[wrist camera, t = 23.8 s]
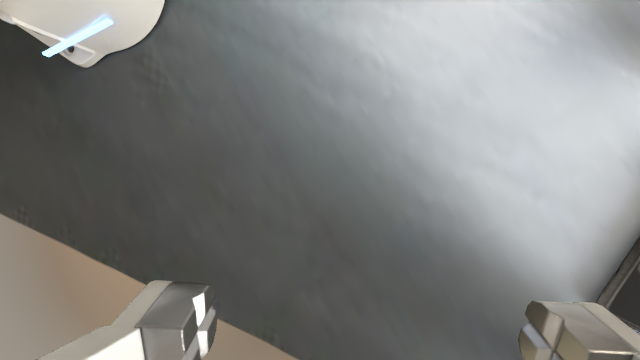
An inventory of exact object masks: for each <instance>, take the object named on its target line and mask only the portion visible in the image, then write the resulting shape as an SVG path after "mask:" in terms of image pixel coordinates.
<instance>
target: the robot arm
mask: <svg viewBox="0 0 640 360" xmlns="http://www.w3.org/2000/svg"><path fill="white" fill-rule="evenodd" d="M164 1H165V0H0V19H2V20H4V21H6V22H8V23H11V24H16V25H18V26H19V27H21V28H22V29H24V30H25V31H26V32H28V33H29V34H31V35H32V36H34V37H35V38H37V39H38V40H40V41H41V42H43V43H44V44H46V45H47V46H49V47H50V48H49V49H47V50H46V51H44V52H42V54H43V55H44V56H47V57H50V56H52V55H54V54H56V53H59V54H61V55H62V56H64V57H65V58H67V59H68V60H70V61H71V62H73V63H75V64H77V65H79V66H81V67H85V68H86V67H90V66H92V65H94V64H95V63H97V62H98V61H99V60H100V59H101V58H102V57H104V56H105V55H106V54H109V53H112V52H116V51H120V50H123V49H126V48H129V47H131V46H133V45H135V44H136V43H138V42H139V41H141V40H142V39H143V38H144V37H145V36H146V35H147V34H148V33H149V32H150V31H151V30H152V28H153V27H154V26H155V24H156V22H157V21H158V19H159V17H160V14H161V12H162V9H163V5H164ZM73 48H74V52H73ZM214 299H215V290H214V286H213V285H212V284H204V283H191V282H177V281H174V282H172V281H160V280H154V281H152V282H149V283H148V284H147V285H146V287H145V288H144V289H143V290H142V291H141V292H140V293H139V294H138V295H137V296H136V297H135V299H134V300H133V301H132V302H131V303H130V304H129V305H128V306H127V307H126V308H125V309H124V311H123V312H122V313H121V314H120V315H119V316H118V317H117V318H116V319H115V320H114V321H113V322H112V324H111V325H110V326H109V327H107V326H102V327H100V328H98V329H96V330H94V331H92V332H90V333H88V334H86V335H84V336H82V337H80V338H78V339H76V340H74V341H72V342H70V343H68V344H66V345H64V346H62V347H60V348H58V349H56V350H54V351H52V352H50V353H48V354H46V355H44V356H42V357H40V358H38V359H36V360H201V358H202V357H203V356H204V355H206V354H207V353H208V352H209V350H210V348H211V346H212V343H213V340H214V336H215V332H216V325H217V314H216V311H215V310H214V309H213V308H212V307H211V305H212V303H213V301H214ZM525 315H526V317H527V318H528V320H529V322H528V323H527V324H525V325H524V326H523V327H522V328H521V330H520V334H519V338H518V341H519V347H520V352H521V354H522V357H523V359H524V360H640V335H639V334H637V333H636V332H635V331H634V330H632V329H631V328H630V327H628V326H627V325H626V324H625V323H623V322H622V321H621V320H620V319H618V318H617V317H616V316H615V315H613V314H612V313H611V312H610V311H608V310H607V309H606V308H605V307H603V306H601V305H599V304H596V303H586V302H573V303H564V302H543V301H532V302H531V303H530V304H529V305H528V307H527V310H526V313H525Z"/></svg>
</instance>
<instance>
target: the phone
mask: <svg viewBox="0 0 640 360" xmlns="http://www.w3.org/2000/svg"><path fill="white" fill-rule="evenodd" d="M597 304H599V305H601V306H603V307H605V308H606V309H607V310H608V311H610V312H611V313H612V314H613V315H615V316H616V317H617V318H618V319H620V320H621V321H622V322H623V323H625V324H626V325H627V326H628V327H630V328H632V329H635V330H637V331H639V332H640V238H639V239H638V241H637V242H636V244H635V245H634V247H633V248H632V250H631V251H630V253H629V254H628V256H627V257H626V259H625V260H624V262H623V263H622V265H621V266H620V268H619V269H618V271H617V272H616V274H615V275H614V277H613V278H612V280H611V281H610V283H609V284H608V285H607V287H606V288H605V290H604V291H603V293H602V294H601V296H600V297H599V299H598V301H597Z"/></svg>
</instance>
